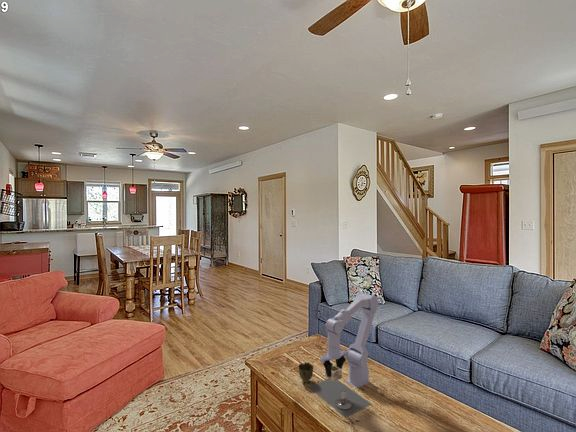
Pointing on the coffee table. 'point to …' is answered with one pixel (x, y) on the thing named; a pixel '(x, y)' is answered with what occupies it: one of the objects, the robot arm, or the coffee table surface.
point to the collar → (335, 373)
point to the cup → (306, 372)
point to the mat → (339, 396)
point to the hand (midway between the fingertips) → (333, 374)
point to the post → (343, 402)
